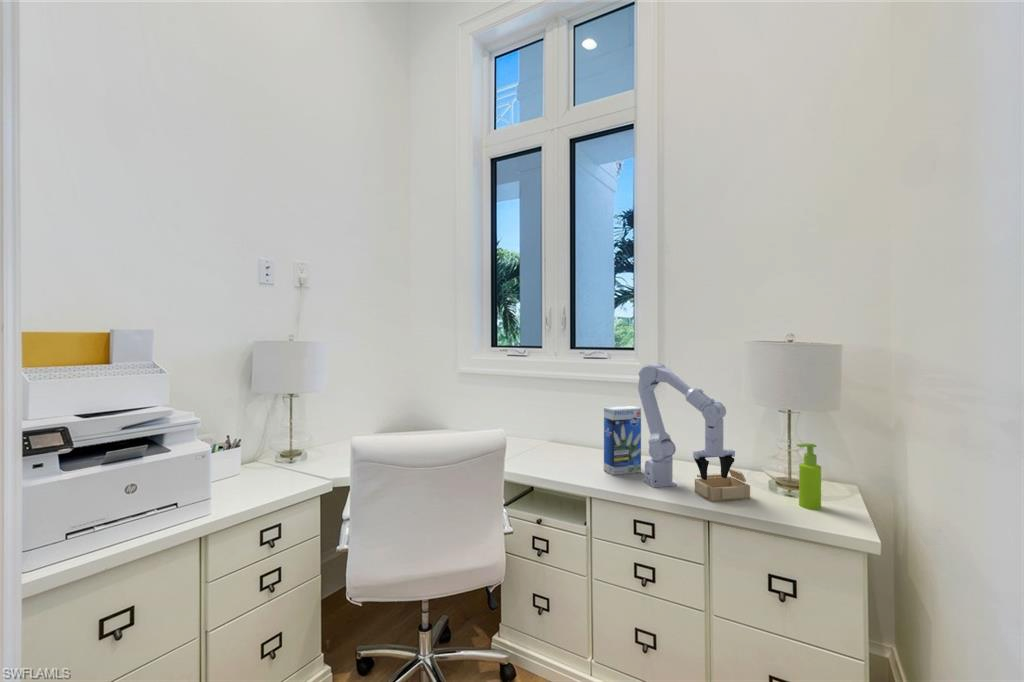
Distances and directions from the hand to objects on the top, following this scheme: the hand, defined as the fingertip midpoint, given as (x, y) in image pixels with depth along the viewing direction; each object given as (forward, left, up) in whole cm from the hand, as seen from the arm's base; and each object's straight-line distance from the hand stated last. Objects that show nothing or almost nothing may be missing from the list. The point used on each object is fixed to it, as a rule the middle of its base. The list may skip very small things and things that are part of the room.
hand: (714, 478), depth 156 cm
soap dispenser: (+23, -14, -6) cm, 28 cm away
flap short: (+10, 0, -1) cm, 10 cm away
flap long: (+3, +5, -1) cm, 6 cm away
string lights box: (-19, +33, -6) cm, 38 cm away
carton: (+3, 0, -6) cm, 7 cm away
